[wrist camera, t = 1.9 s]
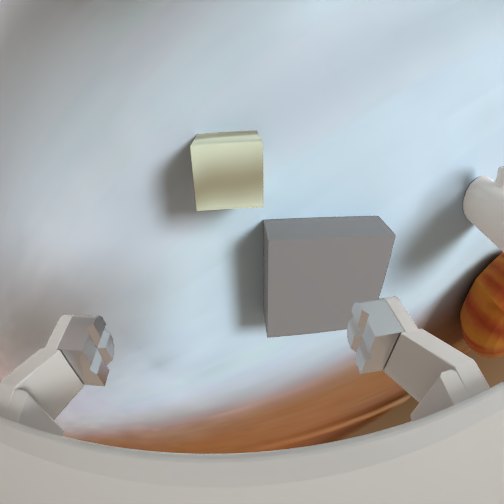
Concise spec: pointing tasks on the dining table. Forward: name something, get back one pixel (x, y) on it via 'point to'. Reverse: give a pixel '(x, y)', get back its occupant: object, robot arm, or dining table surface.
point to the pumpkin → (485, 311)
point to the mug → (487, 206)
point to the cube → (227, 170)
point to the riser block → (321, 271)
